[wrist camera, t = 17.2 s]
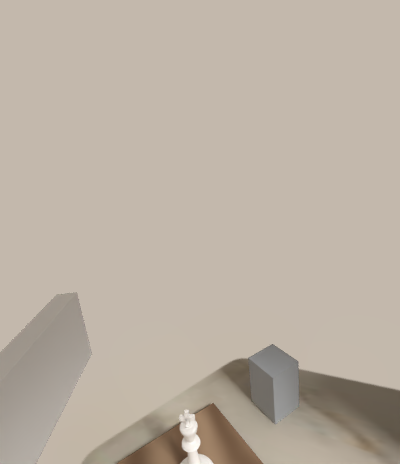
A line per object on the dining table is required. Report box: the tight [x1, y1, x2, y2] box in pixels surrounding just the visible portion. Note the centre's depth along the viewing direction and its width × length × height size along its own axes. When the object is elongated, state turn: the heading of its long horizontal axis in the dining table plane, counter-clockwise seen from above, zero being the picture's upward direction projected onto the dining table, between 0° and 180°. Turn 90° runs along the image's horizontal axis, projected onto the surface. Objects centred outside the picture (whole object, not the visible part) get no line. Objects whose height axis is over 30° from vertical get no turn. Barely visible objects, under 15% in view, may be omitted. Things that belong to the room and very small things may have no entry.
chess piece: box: [179, 410, 213, 464], centre depth 32 cm, size 5×5×10 cm
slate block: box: [248, 344, 299, 424], centre depth 42 cm, size 5×5×8 cm
